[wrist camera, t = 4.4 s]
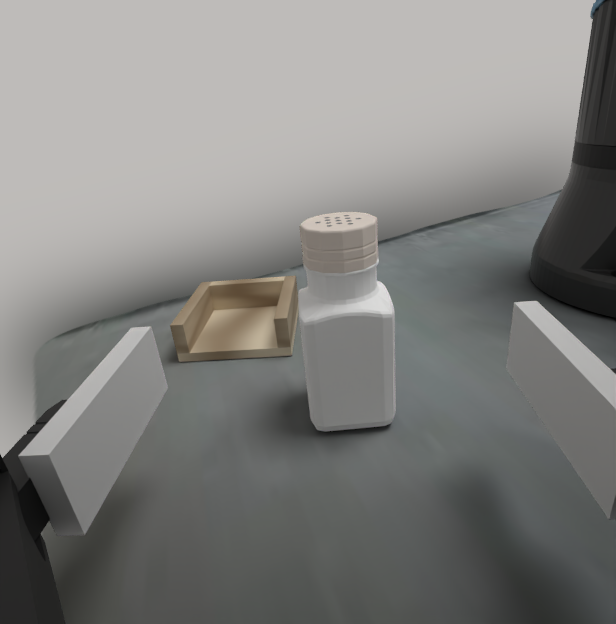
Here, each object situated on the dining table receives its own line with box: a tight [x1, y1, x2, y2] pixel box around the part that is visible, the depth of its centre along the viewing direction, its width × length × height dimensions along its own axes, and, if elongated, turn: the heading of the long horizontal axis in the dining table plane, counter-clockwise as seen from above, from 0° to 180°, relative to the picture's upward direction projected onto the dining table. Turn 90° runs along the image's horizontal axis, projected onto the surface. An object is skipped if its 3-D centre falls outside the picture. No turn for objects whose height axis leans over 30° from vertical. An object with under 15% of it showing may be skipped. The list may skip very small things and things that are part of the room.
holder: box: [170, 276, 299, 362], centre depth 30 cm, size 7×7×3 cm
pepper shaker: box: [298, 212, 396, 432], centre depth 20 cm, size 4×4×10 cm
